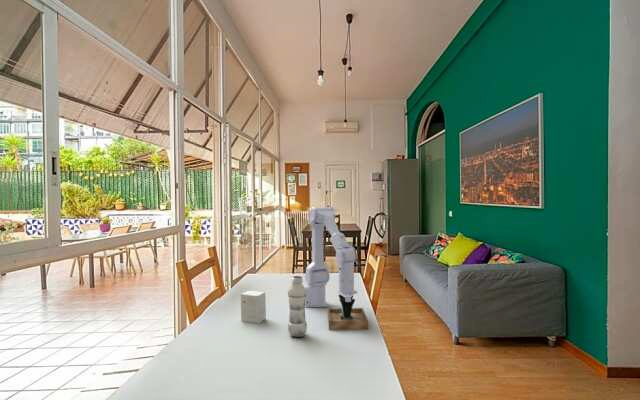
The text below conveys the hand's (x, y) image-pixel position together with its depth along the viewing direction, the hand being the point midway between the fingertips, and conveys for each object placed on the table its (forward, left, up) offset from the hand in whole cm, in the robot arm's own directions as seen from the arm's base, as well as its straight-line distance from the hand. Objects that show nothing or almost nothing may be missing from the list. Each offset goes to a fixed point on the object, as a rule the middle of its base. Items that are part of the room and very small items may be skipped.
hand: (346, 315), depth 131 cm
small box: (-36, +4, -3) cm, 36 cm away
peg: (0, 0, -2) cm, 2 cm away
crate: (0, 0, -3) cm, 3 cm away
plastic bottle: (-18, -12, -3) cm, 22 cm away
